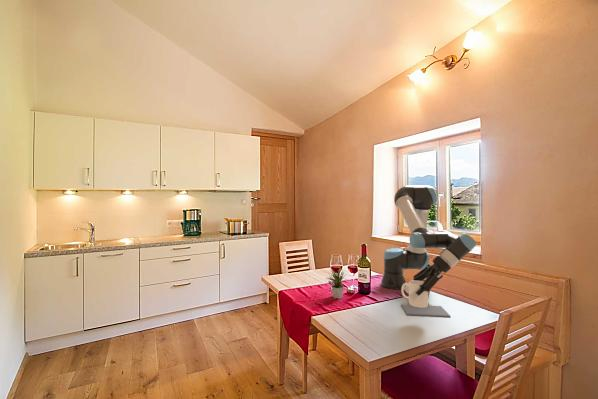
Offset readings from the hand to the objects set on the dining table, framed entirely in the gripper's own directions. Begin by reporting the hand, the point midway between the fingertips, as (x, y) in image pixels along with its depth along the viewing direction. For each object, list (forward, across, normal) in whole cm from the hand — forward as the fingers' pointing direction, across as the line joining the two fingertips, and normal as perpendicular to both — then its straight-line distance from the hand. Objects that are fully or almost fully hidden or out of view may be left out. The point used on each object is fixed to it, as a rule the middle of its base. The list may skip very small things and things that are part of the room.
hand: (408, 294), depth 131 cm
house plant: (+32, +27, +14) cm, 44 cm away
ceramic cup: (0, +27, -18) cm, 32 cm away
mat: (+1, +11, -16) cm, 20 cm away
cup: (+1, 0, -5) cm, 6 cm away
